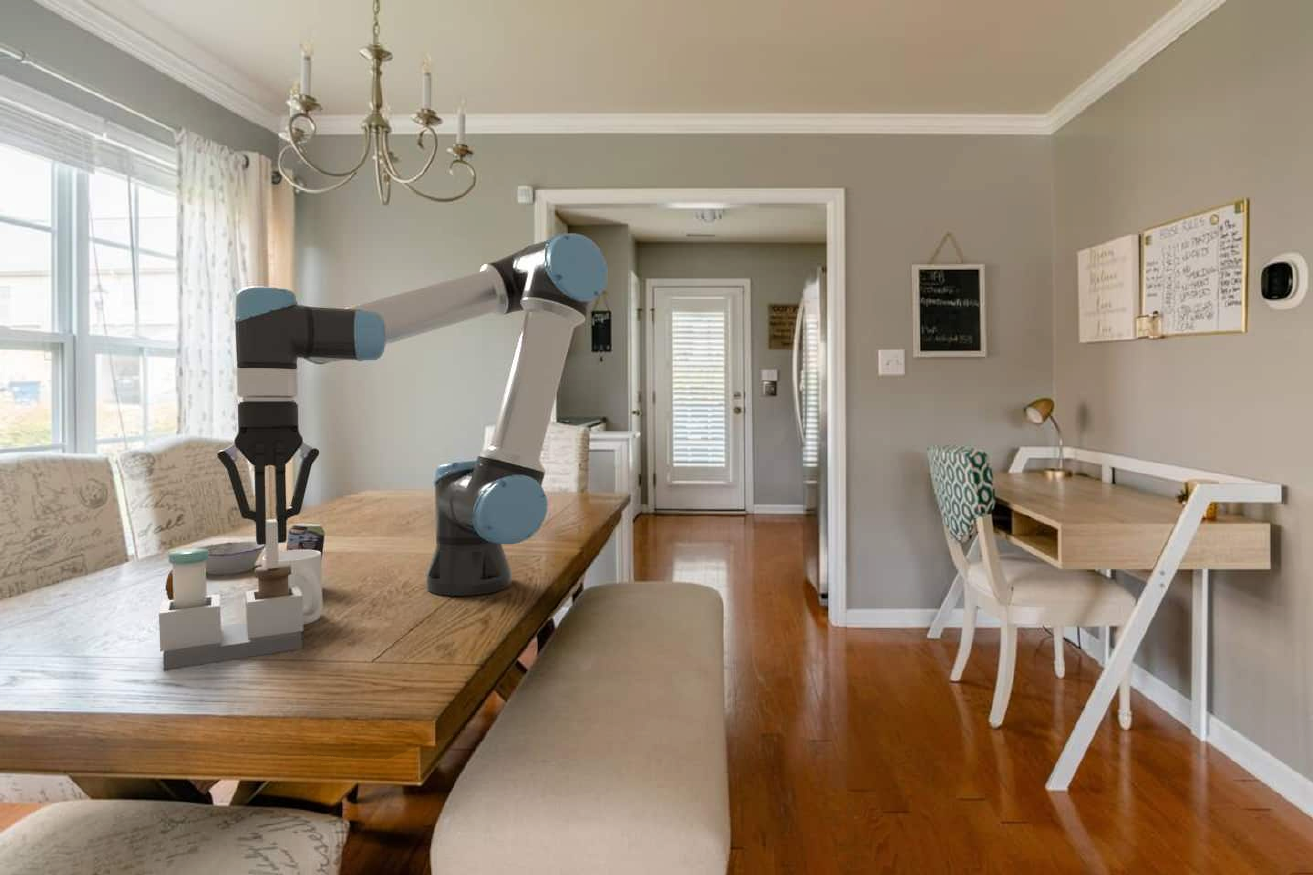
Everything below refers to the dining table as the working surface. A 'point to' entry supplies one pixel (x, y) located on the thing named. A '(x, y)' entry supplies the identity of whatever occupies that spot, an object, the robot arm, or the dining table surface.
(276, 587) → the walnut plug
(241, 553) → the bowl
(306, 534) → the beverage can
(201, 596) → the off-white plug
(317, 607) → the mug
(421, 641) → the dining table surface
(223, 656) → the white plug holder
